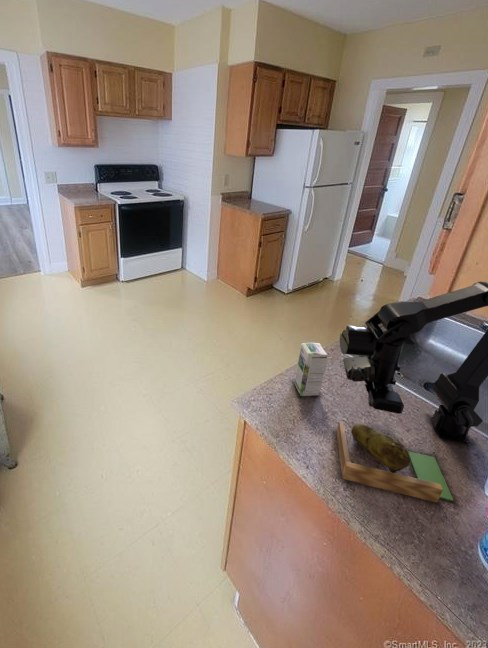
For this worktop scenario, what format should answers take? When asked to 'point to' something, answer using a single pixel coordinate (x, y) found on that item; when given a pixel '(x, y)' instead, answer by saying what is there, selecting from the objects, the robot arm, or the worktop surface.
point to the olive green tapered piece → (382, 447)
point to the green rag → (429, 472)
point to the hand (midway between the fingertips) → (371, 405)
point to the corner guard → (384, 475)
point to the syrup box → (310, 369)
